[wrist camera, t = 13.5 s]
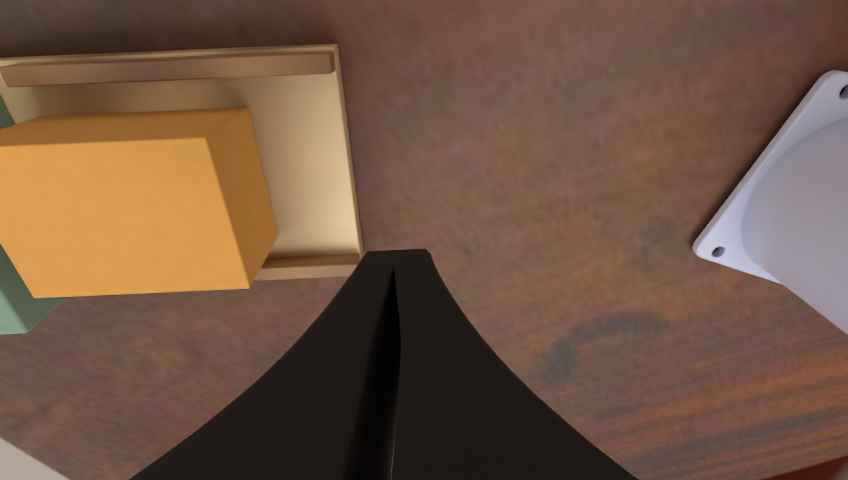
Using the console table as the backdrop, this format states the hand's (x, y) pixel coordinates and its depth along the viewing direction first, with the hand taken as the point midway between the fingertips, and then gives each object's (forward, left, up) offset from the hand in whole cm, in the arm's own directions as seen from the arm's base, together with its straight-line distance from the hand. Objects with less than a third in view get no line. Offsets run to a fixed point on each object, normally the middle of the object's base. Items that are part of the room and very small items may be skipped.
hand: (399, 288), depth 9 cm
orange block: (+8, +3, -7) cm, 11 cm away
